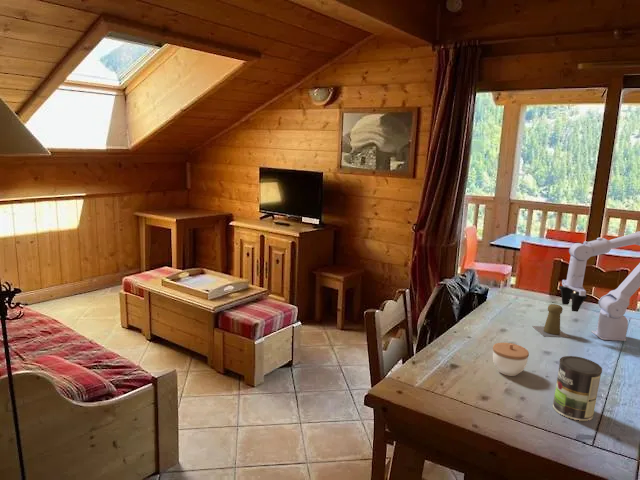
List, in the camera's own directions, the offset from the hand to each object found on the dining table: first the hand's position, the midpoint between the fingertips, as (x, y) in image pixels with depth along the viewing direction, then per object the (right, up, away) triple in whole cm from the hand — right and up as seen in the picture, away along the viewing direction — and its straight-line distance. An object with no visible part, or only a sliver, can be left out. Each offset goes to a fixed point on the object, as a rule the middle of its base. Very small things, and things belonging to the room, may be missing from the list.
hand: (569, 307), depth 187 cm
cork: (-6, -10, +2) cm, 12 cm away
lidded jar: (-37, -16, -33) cm, 52 cm away
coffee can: (-28, -21, -54) cm, 65 cm away
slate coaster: (-7, -11, +2) cm, 13 cm away
